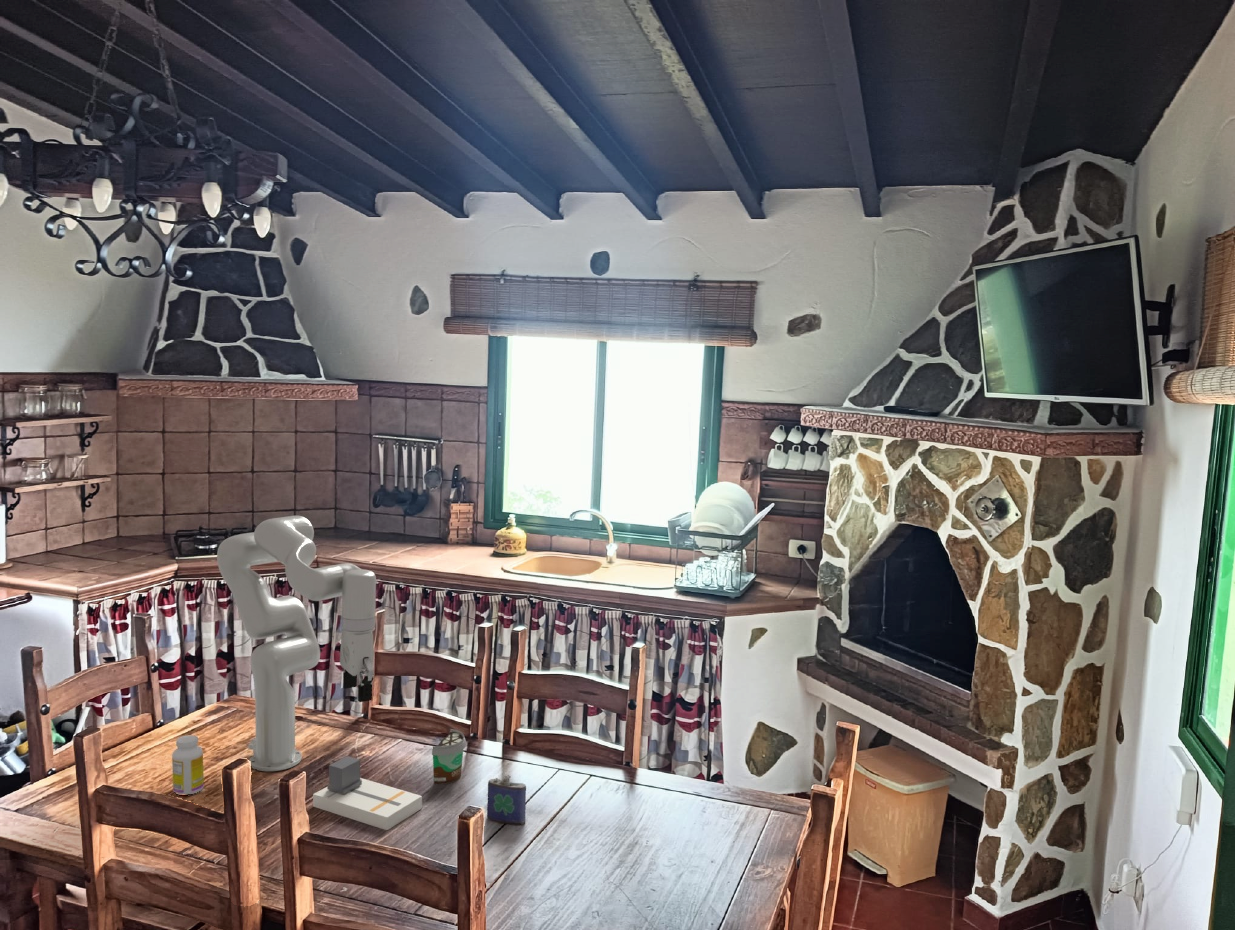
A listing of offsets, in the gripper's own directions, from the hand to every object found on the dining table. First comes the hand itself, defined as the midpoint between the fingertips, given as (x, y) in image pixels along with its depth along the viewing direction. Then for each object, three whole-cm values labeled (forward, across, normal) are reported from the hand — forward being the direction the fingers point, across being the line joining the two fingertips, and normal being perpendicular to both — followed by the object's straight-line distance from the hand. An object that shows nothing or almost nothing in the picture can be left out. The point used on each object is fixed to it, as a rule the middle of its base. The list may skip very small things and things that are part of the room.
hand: (357, 694), depth 219 cm
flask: (+25, +30, +24) cm, 45 cm away
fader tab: (+22, +1, -3) cm, 22 cm away
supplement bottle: (+26, -24, -32) cm, 48 cm away
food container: (+25, +3, +24) cm, 35 cm away
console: (+25, +7, 0) cm, 26 cm away
